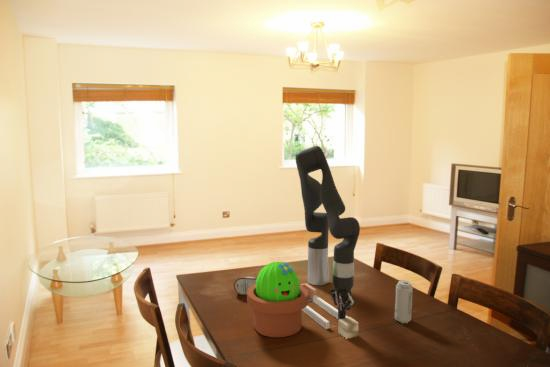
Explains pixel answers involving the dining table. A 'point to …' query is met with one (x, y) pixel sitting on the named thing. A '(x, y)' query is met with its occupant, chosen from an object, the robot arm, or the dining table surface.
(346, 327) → the block
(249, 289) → the potted cactus
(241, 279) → the tin
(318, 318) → the rail channel
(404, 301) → the energy drink can
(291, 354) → the dining table surface
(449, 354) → the dining table surface
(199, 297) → the dining table surface
